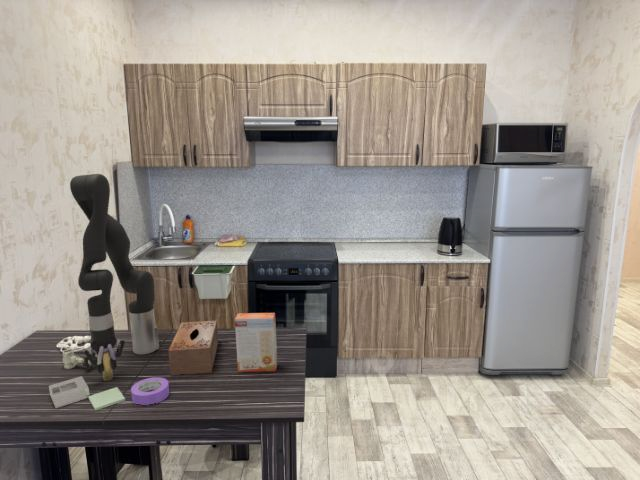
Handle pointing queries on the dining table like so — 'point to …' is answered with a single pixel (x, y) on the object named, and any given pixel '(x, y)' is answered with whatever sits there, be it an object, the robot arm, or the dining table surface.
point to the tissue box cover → (193, 348)
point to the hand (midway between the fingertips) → (107, 370)
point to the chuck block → (69, 391)
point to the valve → (76, 360)
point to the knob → (106, 365)
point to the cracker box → (256, 342)
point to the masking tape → (154, 396)
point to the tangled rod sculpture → (77, 341)
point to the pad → (106, 398)
